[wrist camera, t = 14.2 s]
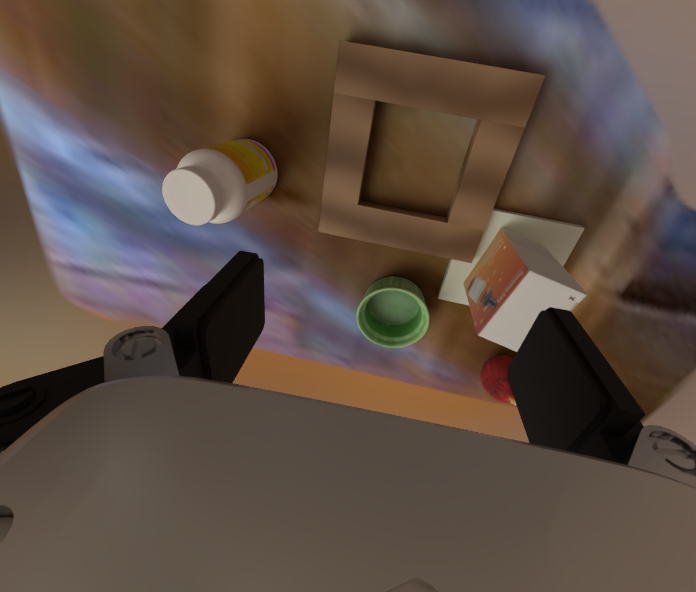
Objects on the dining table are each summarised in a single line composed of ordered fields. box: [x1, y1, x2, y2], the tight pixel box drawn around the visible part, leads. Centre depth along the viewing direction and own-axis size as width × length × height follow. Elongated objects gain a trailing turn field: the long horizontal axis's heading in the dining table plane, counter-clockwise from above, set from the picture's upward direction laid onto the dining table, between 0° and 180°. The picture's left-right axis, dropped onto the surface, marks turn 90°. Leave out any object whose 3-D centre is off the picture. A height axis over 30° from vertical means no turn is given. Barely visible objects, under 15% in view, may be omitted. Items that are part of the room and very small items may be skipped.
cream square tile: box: [438, 208, 585, 305], centre depth 38 cm, size 12×12×1 cm
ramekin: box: [356, 276, 430, 348], centre depth 42 cm, size 9×9×4 cm
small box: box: [463, 228, 587, 352], centre depth 34 cm, size 8×6×10 cm
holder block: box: [319, 40, 546, 263], centre depth 34 cm, size 18×18×2 cm
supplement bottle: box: [163, 139, 278, 225], centre depth 33 cm, size 7×7×13 cm
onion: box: [480, 355, 517, 406], centre depth 43 cm, size 6×6×8 cm
